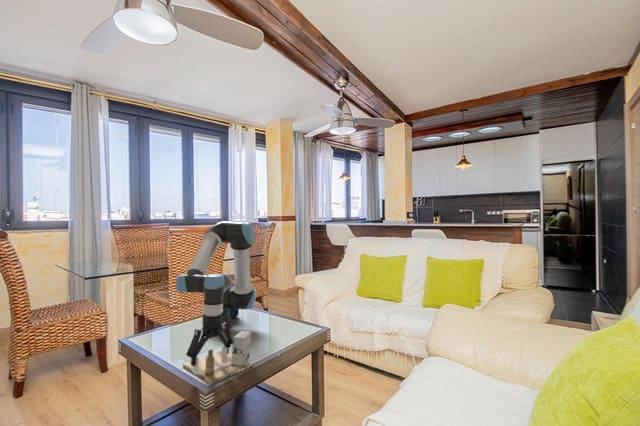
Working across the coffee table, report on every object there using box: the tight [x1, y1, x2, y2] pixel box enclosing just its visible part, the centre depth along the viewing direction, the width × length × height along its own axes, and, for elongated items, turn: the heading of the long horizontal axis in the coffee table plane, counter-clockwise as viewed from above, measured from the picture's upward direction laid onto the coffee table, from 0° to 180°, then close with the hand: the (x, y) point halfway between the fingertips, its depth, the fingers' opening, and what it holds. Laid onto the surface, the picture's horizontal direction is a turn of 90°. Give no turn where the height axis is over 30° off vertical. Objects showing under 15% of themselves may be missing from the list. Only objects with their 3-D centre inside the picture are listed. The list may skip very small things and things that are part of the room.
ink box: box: [231, 330, 252, 366], centre depth 140 cm, size 9×5×12 cm, turn 168°
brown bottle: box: [205, 349, 214, 375], centre depth 128 cm, size 3×3×9 cm
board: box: [182, 350, 253, 384], centre depth 137 cm, size 20×21×1 cm
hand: (210, 368), depth 128 cm, fingers open, 12 cm apart
